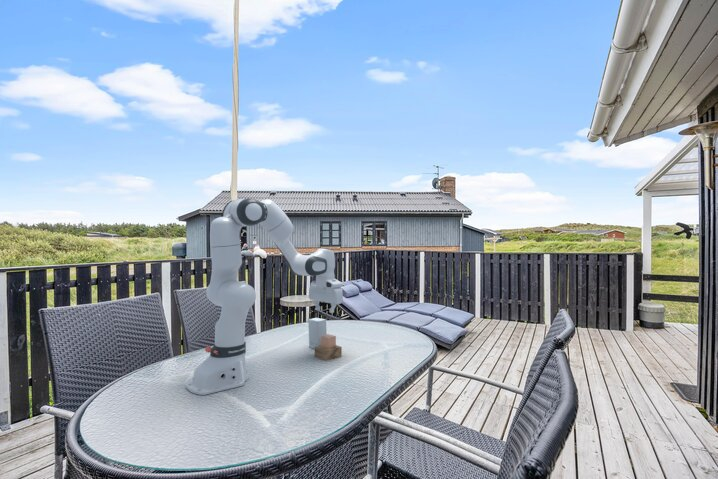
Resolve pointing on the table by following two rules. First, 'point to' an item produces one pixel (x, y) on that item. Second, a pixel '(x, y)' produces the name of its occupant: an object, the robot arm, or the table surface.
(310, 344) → the skincare box
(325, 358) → the walnut block
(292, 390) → the table surface
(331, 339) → the terracotta cube
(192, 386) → the robot arm
